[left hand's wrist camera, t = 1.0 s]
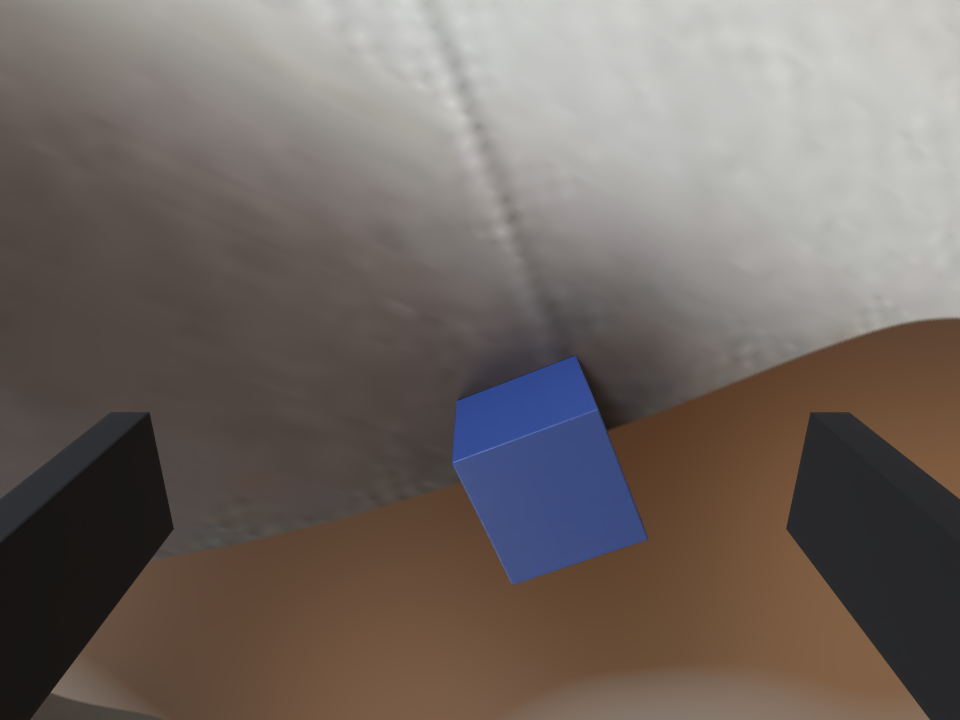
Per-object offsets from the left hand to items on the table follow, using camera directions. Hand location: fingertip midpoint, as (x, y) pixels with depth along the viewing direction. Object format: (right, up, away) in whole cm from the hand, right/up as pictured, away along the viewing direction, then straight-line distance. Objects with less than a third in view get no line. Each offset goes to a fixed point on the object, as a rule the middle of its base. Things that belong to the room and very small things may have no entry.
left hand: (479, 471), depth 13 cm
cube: (+4, -2, +26) cm, 26 cm away
